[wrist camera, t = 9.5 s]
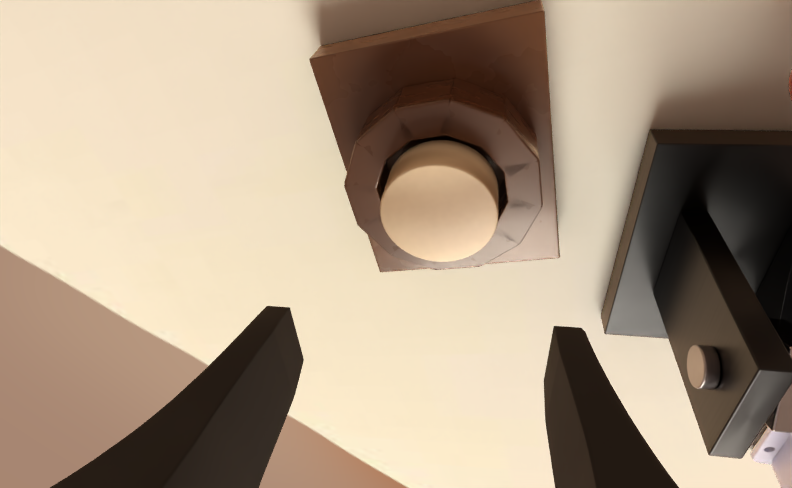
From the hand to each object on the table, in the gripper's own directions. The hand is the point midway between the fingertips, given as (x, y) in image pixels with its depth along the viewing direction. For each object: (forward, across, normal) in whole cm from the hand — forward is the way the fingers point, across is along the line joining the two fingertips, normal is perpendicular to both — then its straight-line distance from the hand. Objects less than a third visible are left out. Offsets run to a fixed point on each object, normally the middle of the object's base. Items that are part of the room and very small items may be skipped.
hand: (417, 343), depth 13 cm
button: (+7, 0, 0) cm, 7 cm away
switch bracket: (+10, -12, +4) cm, 16 cm away
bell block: (+10, 0, 0) cm, 10 cm away
